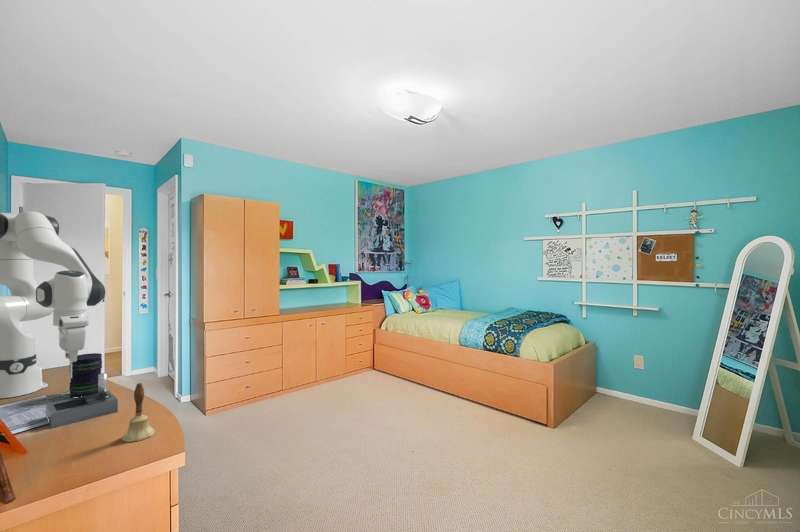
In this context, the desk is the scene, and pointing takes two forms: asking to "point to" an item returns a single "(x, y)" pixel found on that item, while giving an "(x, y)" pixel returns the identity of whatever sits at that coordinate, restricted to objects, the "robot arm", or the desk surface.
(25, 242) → the robot arm
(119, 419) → the desk surface
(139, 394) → the hand bell
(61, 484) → the desk surface
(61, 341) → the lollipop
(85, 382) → the storage jar
